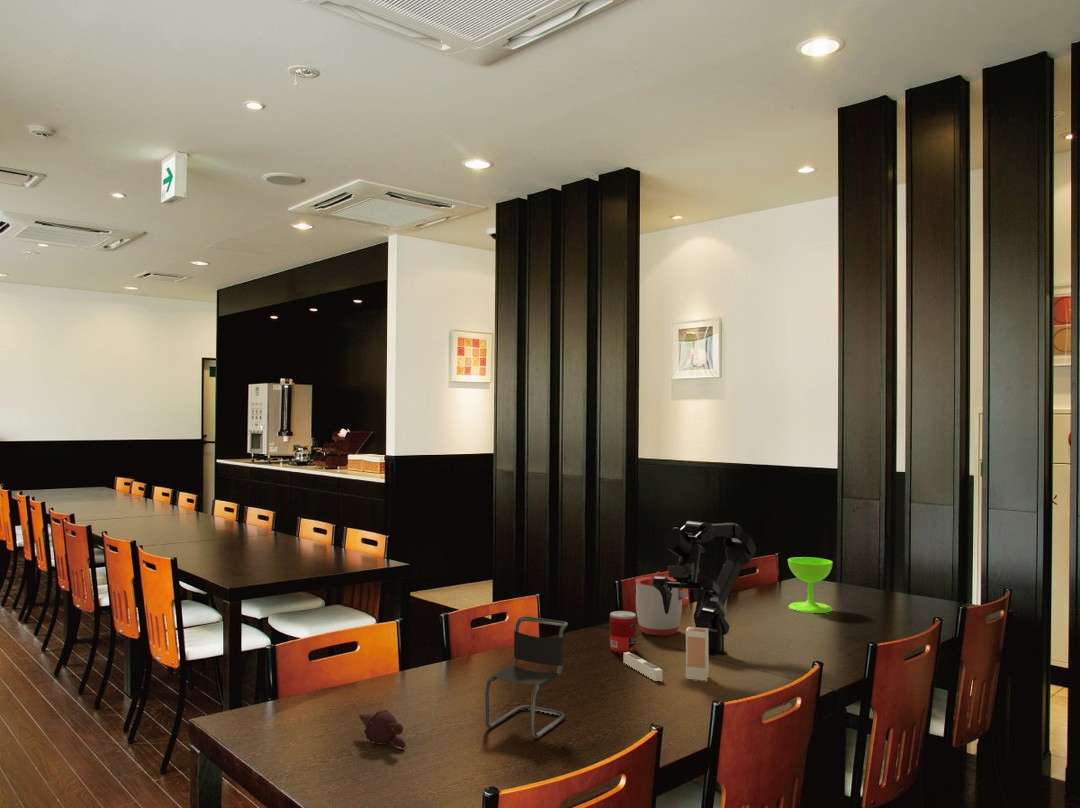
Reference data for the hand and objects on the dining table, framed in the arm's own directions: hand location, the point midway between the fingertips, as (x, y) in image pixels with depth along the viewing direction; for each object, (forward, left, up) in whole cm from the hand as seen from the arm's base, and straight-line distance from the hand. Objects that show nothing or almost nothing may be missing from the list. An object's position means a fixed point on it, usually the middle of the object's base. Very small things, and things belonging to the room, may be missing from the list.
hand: (681, 614), depth 222 cm
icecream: (+89, +21, -15) cm, 92 cm away
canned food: (+7, -22, -15) cm, 27 cm away
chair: (+56, +23, -15) cm, 62 cm away
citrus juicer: (-15, -36, -15) cm, 42 cm away
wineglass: (-85, -45, -15) cm, 97 cm away
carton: (+1, +9, -15) cm, 17 cm away
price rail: (+12, -1, -15) cm, 19 cm away
